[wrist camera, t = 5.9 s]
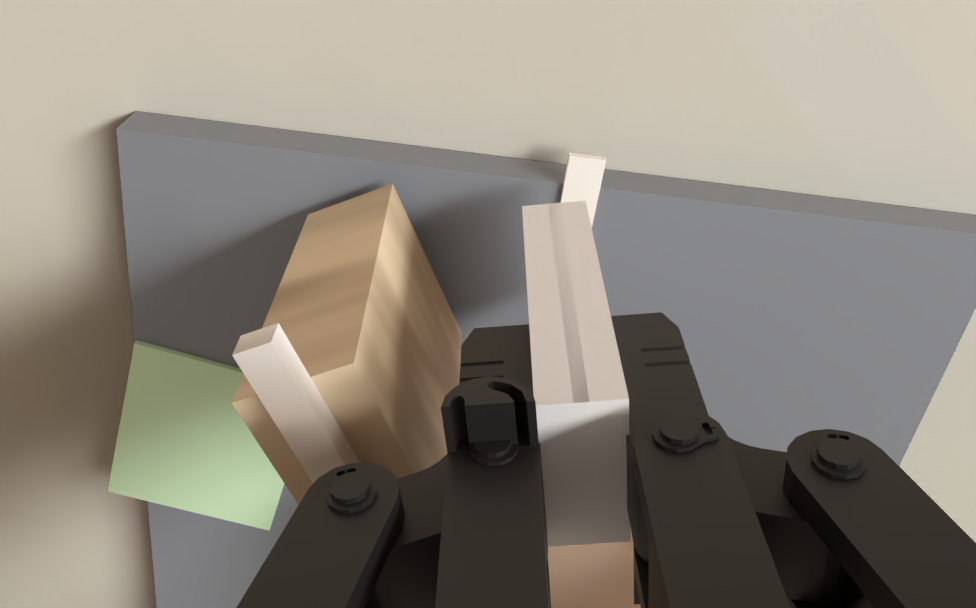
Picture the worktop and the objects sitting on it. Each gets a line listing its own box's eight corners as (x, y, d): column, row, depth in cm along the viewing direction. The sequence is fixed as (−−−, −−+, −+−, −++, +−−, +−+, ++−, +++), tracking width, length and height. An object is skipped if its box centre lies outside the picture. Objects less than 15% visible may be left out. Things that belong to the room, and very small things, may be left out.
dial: (669, 577, 25) (738, 851, 18) (444, 636, 26) (433, 914, 20) (485, 96, 18) (491, 267, 11) (185, 208, 19) (33, 422, 12)
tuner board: (748, 725, 31) (758, 761, 30) (146, 681, 29) (133, 717, 28) (995, 188, 20) (1026, 212, 19) (87, 74, 19) (61, 92, 18)
